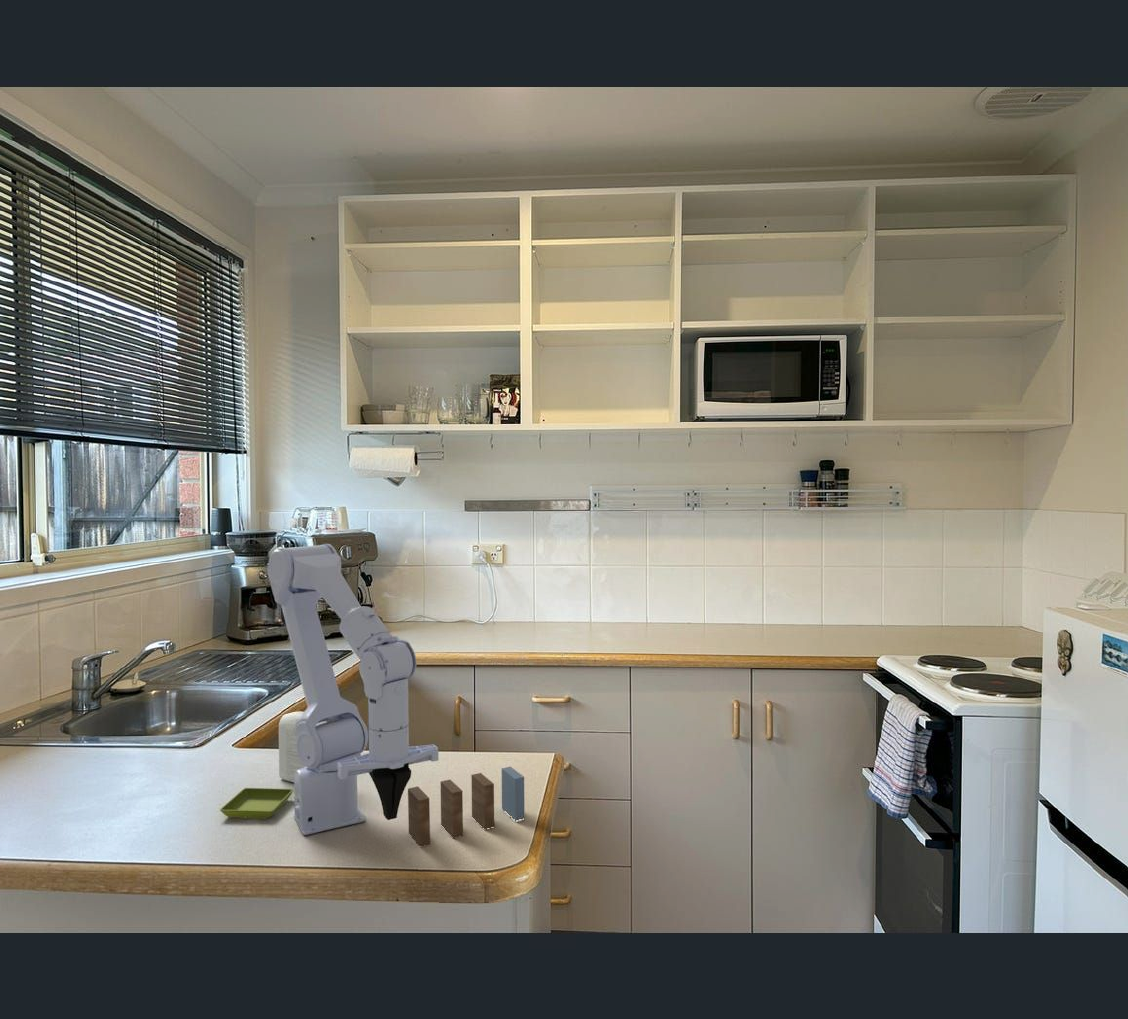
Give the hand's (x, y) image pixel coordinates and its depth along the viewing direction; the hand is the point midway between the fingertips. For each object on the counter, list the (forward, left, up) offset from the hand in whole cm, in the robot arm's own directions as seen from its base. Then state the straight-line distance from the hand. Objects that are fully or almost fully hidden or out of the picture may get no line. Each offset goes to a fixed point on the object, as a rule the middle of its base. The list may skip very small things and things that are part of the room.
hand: (390, 816), depth 112 cm
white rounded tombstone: (-6, +32, -5) cm, 32 cm away
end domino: (+20, 0, -4) cm, 20 cm away
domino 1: (+4, 0, -4) cm, 6 cm away
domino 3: (+15, 0, -4) cm, 15 cm away
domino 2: (+10, 0, -4) cm, 11 cm away
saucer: (-15, +24, -5) cm, 28 cm away
